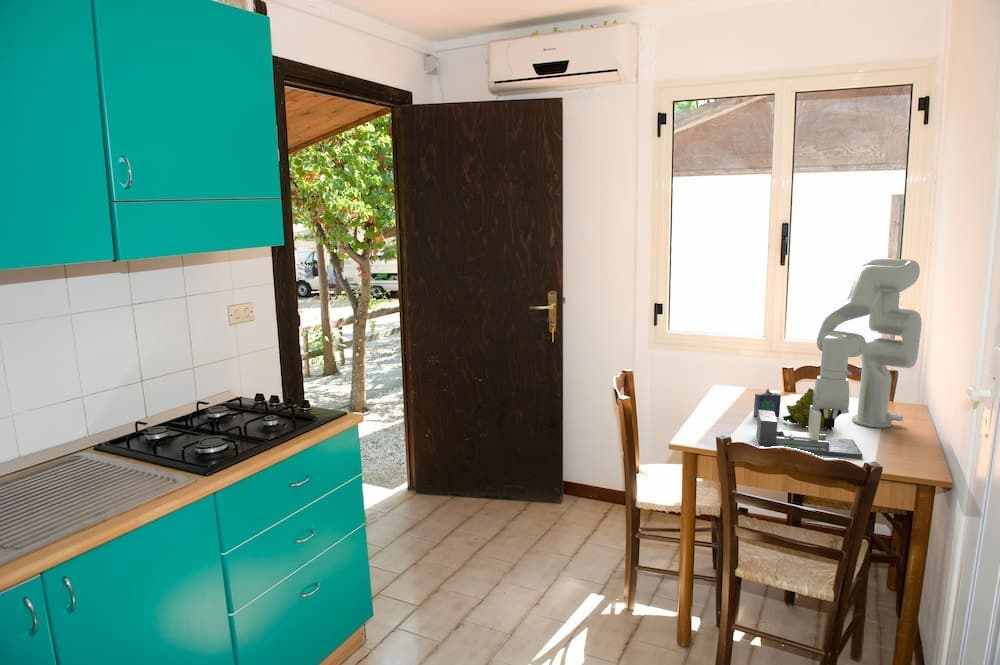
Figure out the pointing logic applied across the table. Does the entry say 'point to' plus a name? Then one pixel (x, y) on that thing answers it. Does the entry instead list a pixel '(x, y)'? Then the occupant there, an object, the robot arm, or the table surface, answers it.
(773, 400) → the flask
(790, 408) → the vegetable
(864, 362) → the robot arm
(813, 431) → the white block
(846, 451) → the base
